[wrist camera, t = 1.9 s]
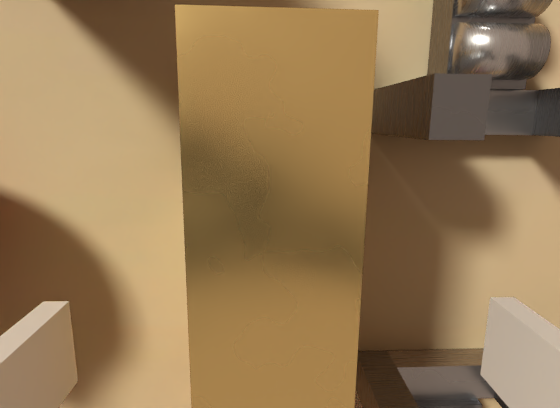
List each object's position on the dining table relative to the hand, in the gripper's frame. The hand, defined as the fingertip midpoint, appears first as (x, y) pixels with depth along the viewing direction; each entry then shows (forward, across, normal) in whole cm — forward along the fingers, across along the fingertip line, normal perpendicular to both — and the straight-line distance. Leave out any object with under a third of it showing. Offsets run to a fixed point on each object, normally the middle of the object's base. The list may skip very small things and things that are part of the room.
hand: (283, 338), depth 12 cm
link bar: (+8, 0, 0) cm, 8 cm away
